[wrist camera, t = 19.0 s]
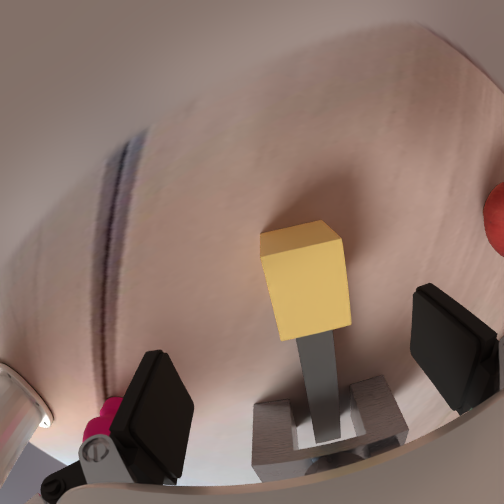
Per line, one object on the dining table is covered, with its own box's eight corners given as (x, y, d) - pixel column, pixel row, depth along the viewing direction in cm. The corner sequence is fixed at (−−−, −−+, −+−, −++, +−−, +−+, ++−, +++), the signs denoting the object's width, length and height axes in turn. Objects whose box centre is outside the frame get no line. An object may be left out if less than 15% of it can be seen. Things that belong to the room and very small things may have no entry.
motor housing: (265, 432, 24) (265, 530, 13) (253, 404, 22) (249, 518, 11) (380, 406, 22) (413, 497, 11) (382, 374, 21) (429, 476, 10)
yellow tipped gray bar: (304, 425, 23) (309, 461, 19) (260, 233, 18) (260, 257, 13) (343, 416, 23) (352, 451, 19) (321, 219, 17) (341, 238, 13)
